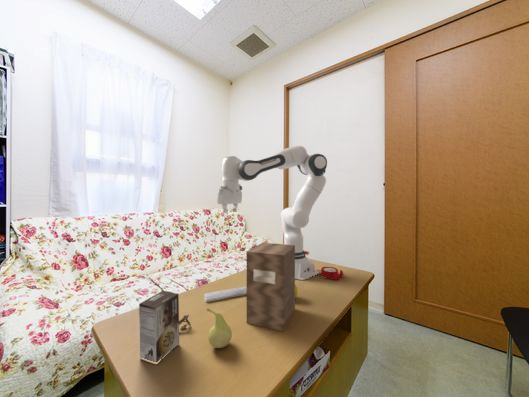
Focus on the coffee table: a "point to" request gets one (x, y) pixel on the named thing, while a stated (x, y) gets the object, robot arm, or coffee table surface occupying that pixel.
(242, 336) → the coffee table surface
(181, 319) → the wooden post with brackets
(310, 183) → the robot arm
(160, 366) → the coffee table surface
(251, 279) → the brown patterned box
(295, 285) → the tennis ball
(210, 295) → the aluminium bar
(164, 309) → the coffee box
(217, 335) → the fruit
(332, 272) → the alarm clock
